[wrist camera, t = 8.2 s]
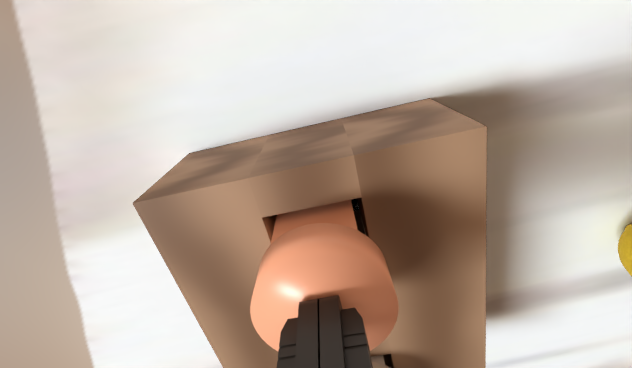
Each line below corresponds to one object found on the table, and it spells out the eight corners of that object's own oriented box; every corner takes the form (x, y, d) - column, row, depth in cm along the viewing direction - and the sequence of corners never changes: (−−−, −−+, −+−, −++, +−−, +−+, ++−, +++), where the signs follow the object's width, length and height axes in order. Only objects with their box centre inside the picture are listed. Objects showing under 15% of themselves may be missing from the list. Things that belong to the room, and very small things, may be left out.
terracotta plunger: (356, 155, 18) (388, 240, 10) (371, 233, 20) (405, 351, 12) (265, 175, 18) (229, 270, 11) (289, 249, 21) (274, 371, 13)
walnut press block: (429, 98, 19) (486, 126, 13) (445, 321, 27) (485, 406, 21) (189, 153, 20) (132, 203, 14) (273, 349, 29) (261, 436, 22)
